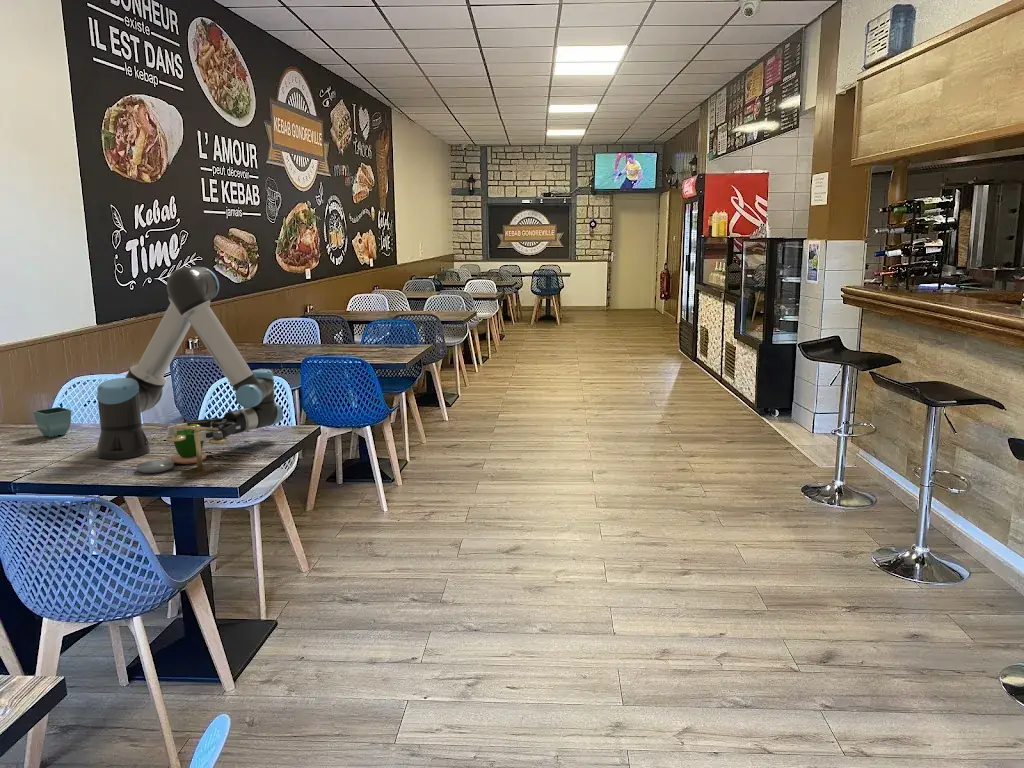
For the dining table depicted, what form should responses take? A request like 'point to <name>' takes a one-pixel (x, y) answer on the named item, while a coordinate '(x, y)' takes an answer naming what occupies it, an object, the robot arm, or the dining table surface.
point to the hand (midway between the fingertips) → (181, 434)
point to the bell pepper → (187, 443)
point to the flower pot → (53, 421)
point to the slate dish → (155, 466)
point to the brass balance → (198, 449)
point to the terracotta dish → (186, 459)
